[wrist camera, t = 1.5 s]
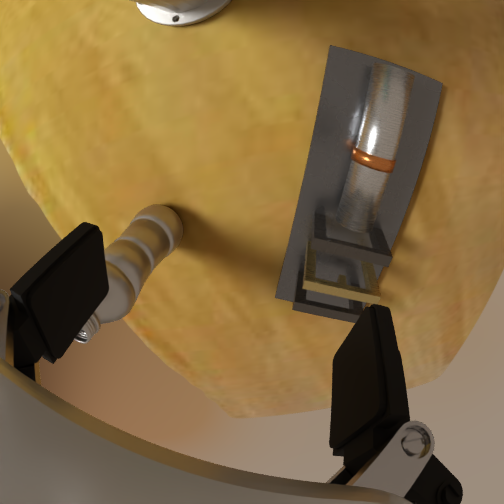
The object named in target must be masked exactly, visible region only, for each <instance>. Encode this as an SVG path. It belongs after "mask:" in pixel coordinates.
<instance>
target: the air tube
mask: <svg viewBox="0 0 504 504" xmlns="http://www.w3.org/2000/svg"><path fill="white" fill-rule="evenodd" d="M414 80H415V76H414V75H413V74H411V73H409V72H407V71H405V70H402V69H400V68H397V67H394V66H390V65H386V64H382V63H373V66H372V72H371V77H370V82H369V87H368V92H367V97H366V101H365V106H364V110H363V115H362V119H361V124H360V128H359V132H358V136H357V140H356V144H355V145H354V146H353V150H352V154H351V159H352V160H351V164H350V168H349V172H348V175H347V179H346V183H345V186H344V190H343V193H342V197H341V200H340V204H339V207H338V211H337V214H336V220H337V222H338V223H339V224H340V225H342V226H343V227H345V228H347V229H349V230H352V231H355V232H359V233H369V232H371V231H372V228H373V226H374V223H375V220H376V217H377V214H378V211H379V209H380V206H381V203H382V200H383V197H384V194H385V191H386V187H387V184H388V181H389V178H390V175H391V173H393V170H394V167H395V163H396V159H395V158H396V154H397V151H398V147H399V144H400V140H401V136H402V132H403V128H404V124H405V120H406V116H407V112H408V108H409V103H410V99H411V94H412V90H413V85H414Z"/></svg>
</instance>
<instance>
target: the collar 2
mask: <svg viewBox="0 0 504 504" xmlns="http://www.w3.org/2000/svg"><path fill="white" fill-rule="evenodd" d="M303 277H304V272H302V271H298V275H297V278H296V285H295V293H294V300H293V308H292V310H296V311H300V312H305V313H309V314H314V315H319V316H323V317H328V318H333V319H338V320H343V321H348V322H353V323H356V322H357V320H358V318H359V317H360V315H361V314H362V312H363V306H362V301H357V300H352V299H349V309H348V308H343V307H339V306H334V305H329V304H325V303H320V302H315V301H311V300H306V293H307V289H302V287H303ZM350 286H355V287H359V288H360V285H359V284H354V283H350Z"/></svg>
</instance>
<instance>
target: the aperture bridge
mask: <svg viewBox="0 0 504 504" xmlns="http://www.w3.org/2000/svg"><path fill="white" fill-rule="evenodd" d="M361 265H362V271H363V276H364V281H365V287H366V289H364V288H359V287H355V286H350V285H347V283H346V276H345V275H340V274H339V277H338V279H337V282H332V281H328V280H324V279H319V278H315V277H316V250H314V249H311V241H308V242H307V246H306V254H305V266H304V277H303V287H302V289H307V290H311V291H316V292H320V293H325V294H329V295H334V296H338V297H343V298H348V299H352V300H357V301H362V302H366V303H371V304H378V302H379V300H380V298H381V295H380V291H379V286H378V282H377V278H376V274H375V270H374V266H373V263H369V262H364V261H361Z"/></svg>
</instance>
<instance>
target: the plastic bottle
mask: <svg viewBox="0 0 504 504" xmlns="http://www.w3.org/2000/svg"><path fill="white" fill-rule="evenodd" d="M182 236H183V225H182V222H181V220H180V218H179V216H178V215H177V214H176V213H175V212H174V211H173V210H172V209H170V208H168V207H166V206H163V205H157V204H156V205H151V206H148V207H146V208H144V209H142V210H141V211H139V212H138V214H137V215H136V216H135V217H134V219H133V220H132V222H131V223H130V225H129V226H128V228H127V229H126V230H125V231H124V232H123V233H122V234H121V236H120V237H119V238H118V239H116V240H115V241H114V242H113V243H112V244H110V245H109V246H108V247H107V248H106V249H104V253H105V261H106V269H107V276H108V282H109V292H108V294H107V296H106V297H105V299H104V300H103V301H102V302H101V304H100V305H99V306H98V308H97V309H96V310H95V312H94V313H93V314H92V316H91V317H90V318H89V320H88V321H87V322H86V324H85V325H84V326H83V328H82V329H81V330H80V332H79V333H78V335H77V336H76V337H75V339H74V340H76V341H78V342H80V343H87V342H89V341H90V339H91V338H92V337H93V335H94V334H96V333H97V332H98V331H99V329H100V324H103V323H110V322H113V321H117V320H120V319H122V318H123V317H124V316H126V315H127V314H128V313H129V312H130V311H131V309H132V307H133V306H134V304H135V302H136V300H137V297H138V295H139V293H140V291H141V289H142V287H143V285H144V283H145V282H146V280H147V278H148V277H149V275H150V274H151V272H152V271H153V269H154V268H155V267H156V266H157V265H158V264H159V263H160V262H161V261H162V260H163V259H164V258H165V257H167V256H168V255H169V254H171V253H172V252H173V251H174V250H175V249H176V248H177V247H178V246H179V244H180V241H181V239H182Z"/></svg>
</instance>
